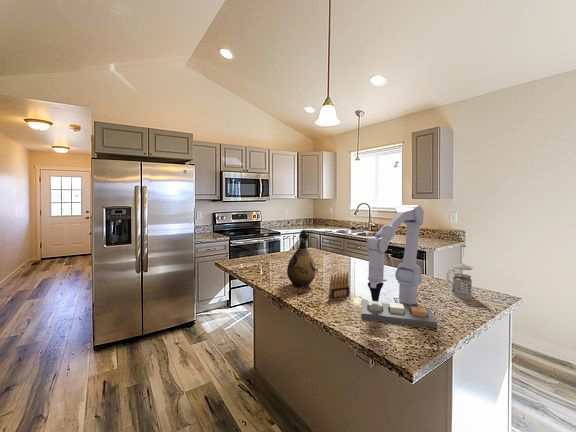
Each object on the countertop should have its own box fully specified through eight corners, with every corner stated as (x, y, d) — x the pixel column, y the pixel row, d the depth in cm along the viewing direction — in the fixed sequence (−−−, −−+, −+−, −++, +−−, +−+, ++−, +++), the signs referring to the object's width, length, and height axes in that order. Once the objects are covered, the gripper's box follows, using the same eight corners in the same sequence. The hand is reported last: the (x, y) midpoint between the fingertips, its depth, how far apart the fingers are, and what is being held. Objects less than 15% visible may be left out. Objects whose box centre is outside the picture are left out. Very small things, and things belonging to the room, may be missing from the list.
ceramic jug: (316, 290, 144) (317, 232, 142) (286, 289, 144) (287, 231, 142) (314, 280, 161) (315, 228, 159) (287, 280, 161) (287, 228, 159)
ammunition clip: (347, 295, 136) (347, 271, 135) (349, 297, 134) (350, 272, 133) (328, 299, 131) (329, 273, 130) (330, 300, 129) (331, 274, 129)
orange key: (410, 313, 111) (411, 306, 111) (424, 315, 110) (424, 307, 109) (412, 318, 106) (412, 310, 106) (427, 320, 105) (427, 312, 105)
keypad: (362, 307, 121) (362, 300, 121) (429, 315, 113) (429, 307, 113) (361, 321, 107) (361, 313, 107) (436, 330, 100) (437, 322, 100)
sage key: (368, 307, 116) (368, 300, 116) (381, 309, 114) (381, 301, 114) (368, 312, 111) (368, 304, 111) (381, 313, 109) (382, 306, 109)
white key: (389, 309, 113) (389, 302, 113) (402, 311, 112) (402, 304, 112) (390, 314, 109) (390, 307, 108) (403, 316, 107) (404, 308, 107)
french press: (477, 299, 132) (479, 246, 131) (450, 297, 135) (452, 245, 133) (468, 292, 142) (470, 243, 141) (443, 290, 144) (445, 242, 143)
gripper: (384, 272, 103) (383, 308, 104) (388, 264, 116) (387, 296, 117) (365, 270, 106) (364, 305, 107) (370, 262, 119) (370, 294, 120)
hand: (375, 300), depth 112 cm, fingers closed
